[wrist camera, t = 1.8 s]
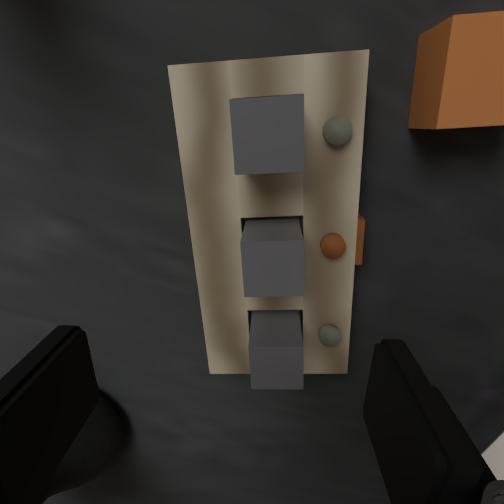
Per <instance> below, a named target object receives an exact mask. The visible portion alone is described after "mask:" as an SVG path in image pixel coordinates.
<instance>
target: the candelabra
mask: <svg viewBox="0 0 504 504" xmlns="http://www.w3.org/2000/svg"><path fill="white" fill-rule="evenodd" d="M124 445H125V430H124V426H123V423H122V420H121V417H120V415H119V412H118V411H117V410H116V409H115V407H114V406H113V405H112V404H111V402H110V401H109V399H108V398H106V397H105V396H103V395H102V394H100V393H99V399H98V402H97V405H96V406H95V408H94V410H93V411H92V413H91V414H90V416H89V418H88V419H87V421H86V422H85V424H84V426H83V427H82V429H81V430H80V432H79V434H78V435H77V437H76V438H75V440H74V441H73V443H72V445H71V446H70V448H69V449H68V451H67V453H66V454H65V456H64V457H63V459H62V461H61V462H60V464H59V465H58V467H57V469H56V470H55V472H54V473H53V475H52V477H51V478H50V480H49V481H48V483H47V484H46V486H45V488H44V489H43V491H42V492H41V494H40V496H39V497H38V499H37V500H36V502H35V504H42V503H43V502H44V501H45V500H46V499H47V498H48V497H50V496H52V495H55V494H57V493H59V492H63V491H66V490H69V489H72V488H75V487H78V486H80V485H82V484H85V483H87V482H89V481H91V480H93V479H95V478H96V477H98V476H99V475H101V474H102V473H104V472H105V471H106V470H107V469H109V468H110V467H111V466H112V465H113V463H114V462H115V461H116V459H117V458H118V457H119V455H120V454H121V452H122V450H123V448H124Z"/></svg>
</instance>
